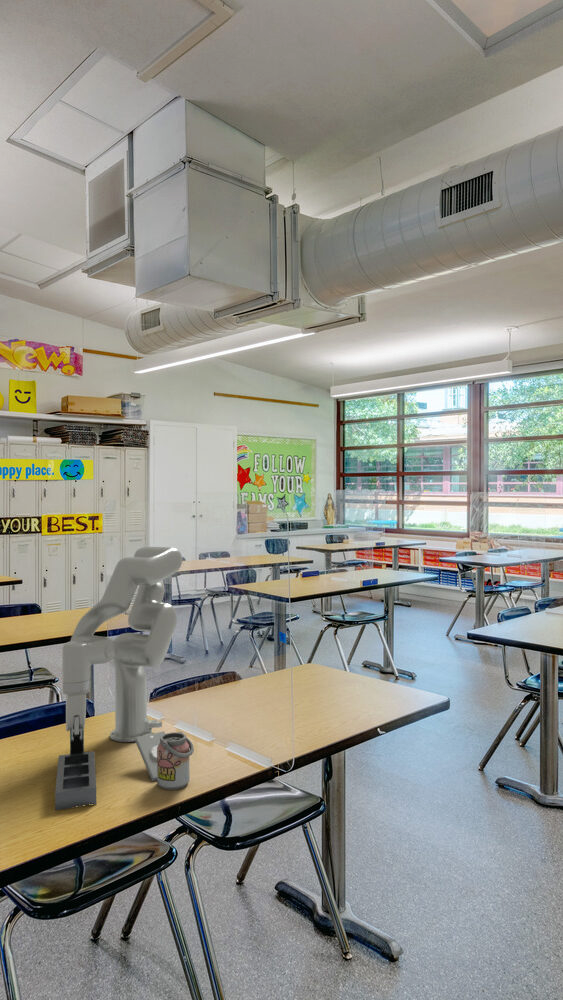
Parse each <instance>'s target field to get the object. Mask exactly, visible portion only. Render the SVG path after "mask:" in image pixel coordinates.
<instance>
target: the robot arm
mask: <svg viewBox="0 0 563 1000" xmlns="http://www.w3.org/2000/svg"><path fill="white" fill-rule="evenodd" d="M182 564H183V556H182V553H181V551H179V549H177V548H176V547H170V546H169V547H168V546H164V547H163V546H144V547H143V546H142V547H140V548H138V549H136V551H135V552H134V555H133V556H130V557H129V556H126V557H123V558H121V559H120V560H118V562H117V563H116V566H115V567H114V570H113V572H112V575H111V577H110V578H109V581H108V584H107V586H106V588H105V591H104V593H103V595H102V597H101V599H100V600H99V602H97V603H96V604H95V605H93V606H92V607H91V608H90V609H89V610H88V611H87V612H86V613H85V614H84V615H82V617H81V618H80V619H79V621H78V623H76V626H75V628H74V631H73V633H72V635H71V638H70V641H67V642H65V643H64V644H63V645H62V649H61V650H62V655H61V656H62V660H61V662H62V665H61V667H62V694H64V695H65V696H66V698H65V731H66V732H70V730H71V728H72V730H71V732H72V741H71V754H76V753H83V739H82V730H83V729H84V730H85V726H86V715H87V694H89V692H91V690H92V688H91V687H92V685H91V682H92V681H91V679H92V678H91V676H92V675H91V674H92V673H91V672H92V670H91V666H92V665H100V664H102V665H103V664H106V663H109V662H111V661H113V667H114V679H115V680H114V682H115V684H114V685H115V687H114V690H115V691H114V694H115V697H114V702H115V703H114V705H115V718H114V719H115V721H114V722H115V725H114V726H115V727H114V729H113V730H111V731H110V735H109V737H110V739H111V740H113V741H115V742H120V743H131V742H135V738H136V737H140V736H144V735H149V734H153V730H152V729H155V728H156V729H157V728H163V722H162V720H157V719H153V720H150V719H149V718H148V715H147V714H148V713H147V712H148V711H147V709H148V708H147V706H148V704H147V695H148V694H147V692H148V691H147V684H148V683H147V674H146V670H145V667H147V668H157V667H158V666H160V665H161V664H162V663H163V661H164V660H165V658H166V655H167V653H168V652H169V651H168V650H169V647H170V645H171V642H172V638H173V635H174V633H175V630H176V626H177V621H178V620H177V619H178V617H177V616H178V614H177V610H176V608H175V607H174V606H173V605H171V604H170V603H167V602H163V599H164V596H165V593H166V592H165V590H166V588H165V583H164V580H165V579H168V578H169V577H171V576H173V575H174V574H176V573H177V572H178V571H179V570H180V568H181V567H182ZM136 590H137V593H136ZM135 593H136V595H135ZM134 596H135V598H134ZM133 598H134V600H133ZM132 601H133V603H132ZM131 603H132V606H131V608H130V605H131ZM129 608H130V611H129V614H128V617H127V623H128V626H129V627H130V628H131V629H133V630H135V631H139V632H147V633H149V634H144V633H136V632H135V633H134V632H126V633H125V632H124V633H121V634H118V635H117V636H116V637H115V639H113V638H110V637H107V636H98V635H94V634H95V633H96V631H97V630H98V629H99V628H100V627H101V625H102V624H104V623H105V622H107V621H109V620H111V619H113V618H115V617H117V616H120V615H122V614H124V613H126V612H127V611H128V610H129ZM80 726H81V728H80V729H79V727H80ZM73 728H74V729H73ZM79 731H80V733H79Z"/></svg>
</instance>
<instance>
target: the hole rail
mask: <svg viewBox="0 0 563 1000" xmlns="http://www.w3.org/2000/svg"><path fill="white" fill-rule="evenodd" d="M95 754H96V753H95V751H84V753H76V754H70V753H69V754H61V755H58V758H57V759H58V760H57V761H58V762H57V772H56V779H55V780H56V782H55V791H54V792H55V793H54V801H55V802H54V804H55V805H54V807H55V808H54V809H55V811H60V810H68V809H67V808H69V809H73V808H72V807H76V806H83V805H89V804H96V805H97V775H96V774H97V773H96V758H95ZM83 807H84V806H83ZM76 808H77V807H76Z"/></svg>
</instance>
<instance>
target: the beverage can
mask: <svg viewBox="0 0 563 1000" xmlns="http://www.w3.org/2000/svg"><path fill="white" fill-rule="evenodd" d="M194 748H195V747H194V744H193V742H192V741H191V740H190V739H189V738H188V737H187V735H186V734H185V733H184V732H183V731H178V732H168V733H165V734H164V735H162V736H161V737H160V743H159V745H158V747H157V781H156V783H157V785H158V786H159V787H160V788H161V789H163V790H166V791H175V790H176V791H177V790H179V789H180V790H181V789H183V788H185V787H186V786H188V784H189V782H190V756H192V755H193V754H194V751H195V749H194Z"/></svg>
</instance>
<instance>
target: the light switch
mask: <svg viewBox="0 0 563 1000" xmlns="http://www.w3.org/2000/svg"><path fill="white" fill-rule="evenodd" d="M164 734H166V732H165V731H164V730H163V731H159V732H154V733H152V734H149V735H144V736H140V737H136V738H135V741H134V742H135V744H136V746H137V749H138V751H139V753H140V756H141V758H142V761H143V763H144V765H145V767H146V769H147V773H148V775H149V778H150V779H151V781H152V782H157V747H158V745H159V743H160V737H161V736H162V735H164Z"/></svg>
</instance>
